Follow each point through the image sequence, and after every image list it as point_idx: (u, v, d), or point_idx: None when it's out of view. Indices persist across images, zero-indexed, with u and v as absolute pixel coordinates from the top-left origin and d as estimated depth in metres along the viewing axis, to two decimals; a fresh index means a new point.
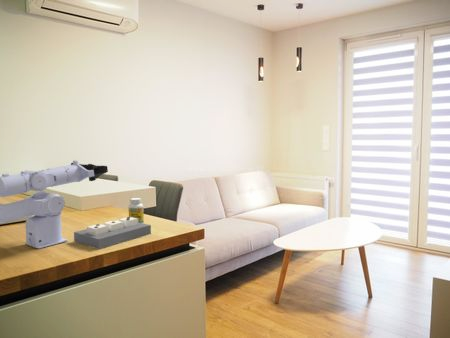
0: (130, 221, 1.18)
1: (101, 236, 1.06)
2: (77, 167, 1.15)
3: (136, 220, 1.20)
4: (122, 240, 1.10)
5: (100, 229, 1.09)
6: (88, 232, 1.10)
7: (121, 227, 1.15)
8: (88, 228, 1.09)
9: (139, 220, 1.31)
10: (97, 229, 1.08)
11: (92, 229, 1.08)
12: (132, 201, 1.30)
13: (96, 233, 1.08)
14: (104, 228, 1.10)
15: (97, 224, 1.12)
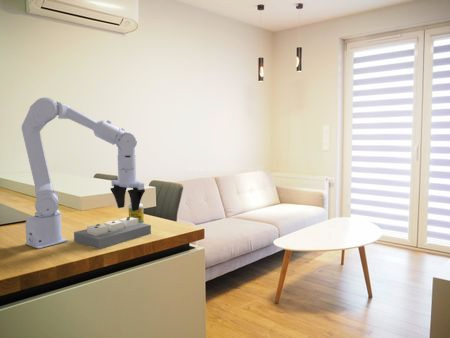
0: (130, 221, 1.18)
1: (101, 236, 1.06)
2: (135, 180, 1.19)
3: (136, 220, 1.20)
4: (122, 240, 1.10)
5: (100, 229, 1.09)
6: (88, 232, 1.10)
7: (121, 227, 1.15)
8: (88, 228, 1.09)
9: (139, 220, 1.31)
10: (97, 229, 1.08)
11: (92, 229, 1.08)
12: None
13: (96, 233, 1.08)
14: (104, 228, 1.10)
15: (97, 224, 1.12)
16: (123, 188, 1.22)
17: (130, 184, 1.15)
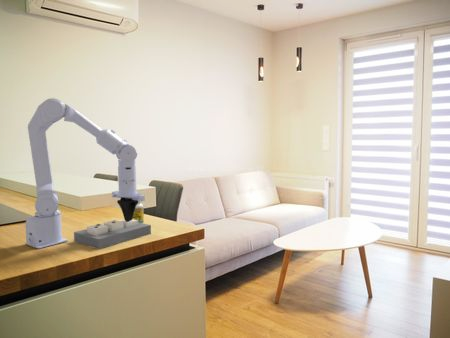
0: (130, 223, 1.18)
1: (101, 236, 1.06)
2: None
3: (136, 222, 1.20)
4: (122, 240, 1.10)
5: (100, 229, 1.09)
6: (88, 232, 1.10)
7: (121, 227, 1.15)
8: (88, 228, 1.09)
9: (139, 220, 1.31)
10: (97, 229, 1.08)
11: (92, 229, 1.08)
12: None
13: (96, 233, 1.08)
14: (104, 228, 1.10)
15: (97, 224, 1.12)
16: None
17: (130, 196, 1.15)
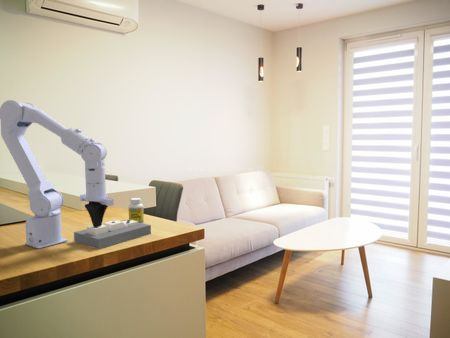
0: (130, 224, 1.18)
1: (101, 236, 1.06)
2: (105, 195, 1.10)
3: (136, 223, 1.20)
4: (122, 240, 1.10)
5: (100, 229, 1.09)
6: (88, 232, 1.10)
7: (121, 227, 1.15)
8: (88, 228, 1.09)
9: (139, 220, 1.31)
10: (97, 229, 1.08)
11: (92, 229, 1.08)
12: (132, 201, 1.30)
13: (96, 233, 1.08)
14: (104, 228, 1.10)
15: None
16: None
17: (98, 200, 1.06)
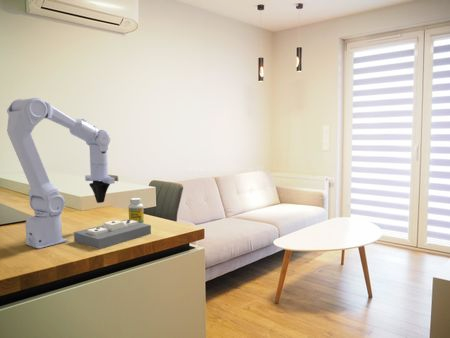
0: (130, 224, 1.18)
1: (101, 236, 1.06)
2: (107, 175, 1.25)
3: (136, 223, 1.20)
4: (122, 240, 1.10)
5: (100, 232, 1.09)
6: None
7: (121, 227, 1.15)
8: (88, 231, 1.09)
9: (139, 220, 1.31)
10: (97, 232, 1.08)
11: (92, 232, 1.08)
12: (132, 201, 1.30)
13: None
14: (104, 231, 1.10)
15: (97, 227, 1.12)
16: None
17: (101, 179, 1.21)
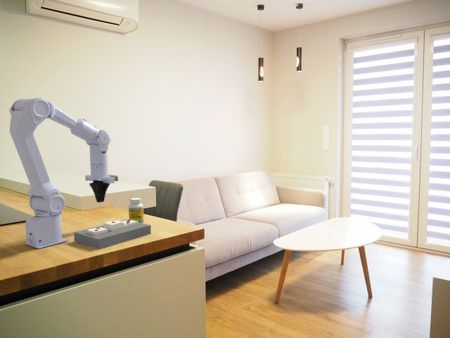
0: (130, 224, 1.18)
1: (101, 236, 1.06)
2: (107, 175, 1.26)
3: (136, 223, 1.20)
4: (122, 240, 1.10)
5: (100, 232, 1.09)
6: None
7: (121, 227, 1.15)
8: (88, 231, 1.09)
9: (139, 220, 1.31)
10: (97, 232, 1.08)
11: (92, 232, 1.08)
12: (132, 201, 1.30)
13: None
14: (104, 231, 1.10)
15: (97, 227, 1.12)
16: None
17: (101, 178, 1.22)
